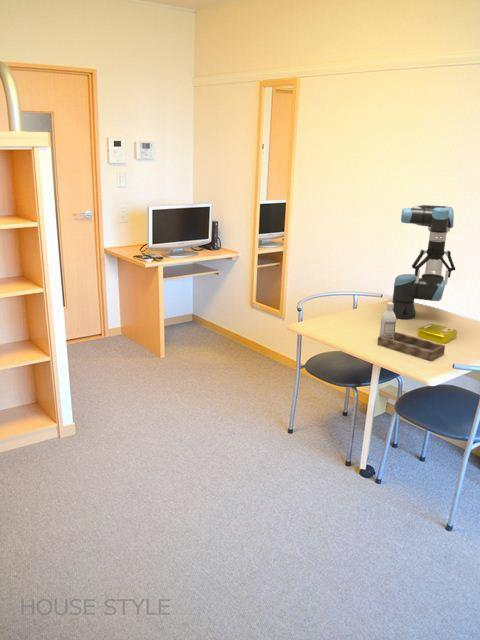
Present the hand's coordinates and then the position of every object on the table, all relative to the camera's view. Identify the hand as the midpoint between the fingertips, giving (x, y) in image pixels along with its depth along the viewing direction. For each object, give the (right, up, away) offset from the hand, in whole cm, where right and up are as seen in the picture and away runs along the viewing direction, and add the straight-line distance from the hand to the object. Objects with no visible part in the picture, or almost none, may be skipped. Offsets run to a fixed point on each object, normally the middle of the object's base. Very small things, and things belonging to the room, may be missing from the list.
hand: (431, 283), depth 267 cm
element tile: (+5, -27, +6) cm, 29 cm away
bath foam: (-23, -29, -2) cm, 37 cm away
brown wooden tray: (-14, -32, -10) cm, 36 cm away
